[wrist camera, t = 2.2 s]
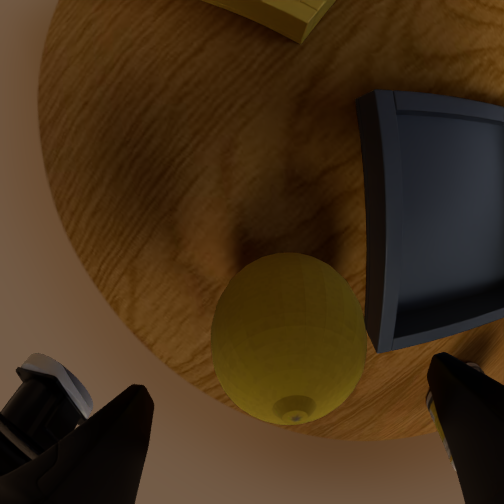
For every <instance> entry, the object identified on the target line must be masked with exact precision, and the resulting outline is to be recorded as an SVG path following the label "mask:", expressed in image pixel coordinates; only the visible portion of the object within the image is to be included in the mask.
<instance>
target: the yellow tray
mask: <svg viewBox="0 0 504 504" xmlns="http://www.w3.org/2000/svg"><path fill="white" fill-rule="evenodd" d="M201 1H204V2H207V3H210V4H213V5H215V6H218V7H221V8H223V9H226V10H229V11H231V12H234V13H236V14H239V15H241V16H243V17H246V18H248V19H250V20H253V21H255V22H257V23H259V24H261V25H264V26H266V27H268V28H270V29H272V30H274V31H276V32H278V33H280V34H282V35H284V36H286V37H287V38H289V39H291V40H293V41H295V42H297V43H299V44H302V42H303V41H304V40H305V39H306V37H307V36H308V35H309V33H310V32H311V31H312V30H313V28H314V27H315V26H316V24H317V23H318V22H319V21H320V19H321V18H322V17H323V16H324V14H325V13H326V12H327V11H328V10H329V8H330V7H331V6H332V5H333V4H334V2H335V1H336V0H201Z"/></svg>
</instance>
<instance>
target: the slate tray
mask: <svg viewBox="0 0 504 504" xmlns="http://www.w3.org/2000/svg"><path fill="white" fill-rule="evenodd" d="M355 103H356V109H357V116H358V123H359V131H360V139H361V148H362V158H363V169H364V182H365V199H366V223H367V279H366V303H365V320H364V323H365V329H366V330H367V333H368V335H369V337H370V339H371V341H372V344H373V346H374V348H375V350H376V352H377V353H383V352H387V351H391V350H392V351H393V350H397V349H402V348H406V347H410V346H414V345H418V344H422V343H426V342H429V341H433V340H437V339H440V338H444V337H447V336H451V335H454V334H457V333H460V332H464V331H467V330H470V329H473V328H476V327H479V326H482V325H484V324H487V323H490V322H493V321H495V320H498V319H501V318H503V317H504V107H502V106H498V105H494V104H490V103H485V102H480V101H476V100H470V99H465V98H459V97H453V96H446V95H439V94H431V93H422V92H411V91H398V90H393V91H392V90H378V89H375V90H373V91H371V92H369V93H366V94H364V95H362V96H360V97H358V98H356V99H355Z"/></svg>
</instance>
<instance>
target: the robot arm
mask: <svg viewBox="0 0 504 504" xmlns="http://www.w3.org/2000/svg"><path fill="white" fill-rule="evenodd" d="M16 372H17V374H18V376H19V377H20V379H21V380H22V381H23V383H22V384H21V386H20V387H19V388H18V390H17V391H16V392H15V393H14V395H13V396H12V397H11V399H10V400H9V401H8V403H7V404H6V405H5V407H4V408H3V409H2V411H1V412H0V504H135V500H136V495H137V491H138V487H139V483H140V478H141V474H142V470H143V466H144V462H145V458H146V454H147V450H148V446H149V440H150V432H151V425H152V418H153V411H154V403H153V400H152V398H151V396H150V394H149V392H148V391H147V389H146V387H145V386H144V385H137V384H133V385H131V386H129V387H128V388H127V389H126V390H124V391H123V392H122V393H121V394H119V395H118V396H117V397H115V398H114V399H113V400H112V401H110V402H109V403H108V404H107V405H106V406H104V407H103V408H102V409H100V410H99V411H98V412H96V413H95V414H94V415H93V416H91V417H90V418H89V419H86V418H85V416H84V415H83V414H82V412H81V411H80V410H79V408H78V407H77V406H76V404H75V403H74V401H73V400H72V399H71V397H70V396H69V394H68V393H67V391H66V390H65V388H64V387H63V385H62V384H61V382H60V381H59V379H58V378H57V377H55V376H54V375H50V374H45V373H41V372H37V371H32V370H28V369H24V368H20V367H18V368H17V369H16ZM427 380H428V383H429V387H430V390H431V394H432V397H433V401H434V405H435V408H436V412H437V416H438V419H439V422H440V425H441V427H442V430H443V433H444V435H445V438H446V441H447V444H448V447H449V450H450V453H451V456H452V459H453V462H454V465H455V468H456V471H457V475H458V478H459V482H460V485H461V489H462V492H463V496H464V500H465V504H504V385H502V384H501V383H499V382H497V381H495V380H494V379H492V378H490V377H488V376H487V375H485V374H483V373H481V372H480V371H478V370H476V369H474V368H473V367H471V366H469V365H467V364H466V363H464V362H462V361H460V360H459V359H457V358H455V357H453V356H452V355H450V354H448V353H446V352H442V353H438V354H435V355H434V356H433V357H432V360H431V363H430V366H429V369H428V373H427ZM77 424H78V425H80V426H78V427H77V428H76V429H75V427H76V425H77Z"/></svg>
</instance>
